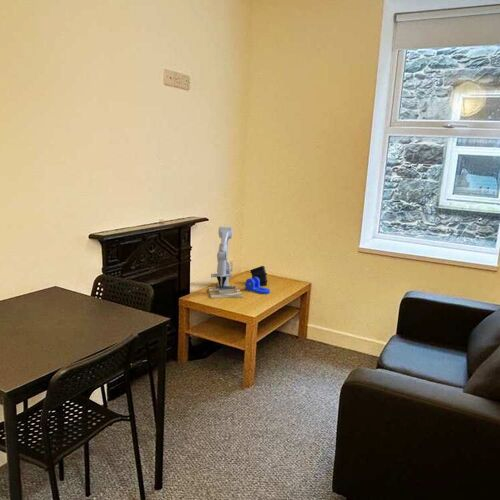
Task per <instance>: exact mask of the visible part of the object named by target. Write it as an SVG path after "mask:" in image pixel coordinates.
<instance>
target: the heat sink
mask: <svg viewBox="0 0 500 500" xmlns="http://www.w3.org/2000/svg"><path fill="white" fill-rule="evenodd" d="M217 290H218V293H219V294H233V289H229V288H218V289H217Z"/></svg>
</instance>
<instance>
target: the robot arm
mask: <svg viewBox="0 0 500 500" xmlns="http://www.w3.org/2000/svg"><path fill="white" fill-rule="evenodd" d="M218 237H219V239H220V240H221V241H220V243H219V246H218V251H217V255H216V258H217V267H216V268H217V269H216V273H211V274H210V277H211V278H216V279H217V281H218V282H217V286H219V287H221V286H222V287H223V286H230V284H229V279H230V278H233V274H232V273H231V272H232V271H231V270H232V267H231V266H232V265H231V263H230V262H229V261H228V257H229V241H230V239H232V238H233V227H230V226H219V227H218Z"/></svg>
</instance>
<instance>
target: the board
mask: <svg viewBox="0 0 500 500" xmlns="http://www.w3.org/2000/svg"><path fill="white" fill-rule="evenodd" d="M236 288H237V293H234V291H233V294H219V293H218V290H217V289H218V288H217V289H216V288H215V293H213V287H208V289H209V290H208V292H209V296H210V298H211V299H242V298H244V295H243V293H242V292H241V289H240V287H237V286H236Z"/></svg>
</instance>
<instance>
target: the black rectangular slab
mask: <svg viewBox="0 0 500 500" xmlns="http://www.w3.org/2000/svg"><path fill="white" fill-rule="evenodd" d="M249 273H250V274H251V278H253V277H258V278H259V280H260V287H262V286H263V287H267V285H268V283H269V282H268V277H267V275H268V273H267V272H266V266H264V265H260V266H258V267H255V268H252V269H250V271H249ZM255 282H256V281H255Z"/></svg>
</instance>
